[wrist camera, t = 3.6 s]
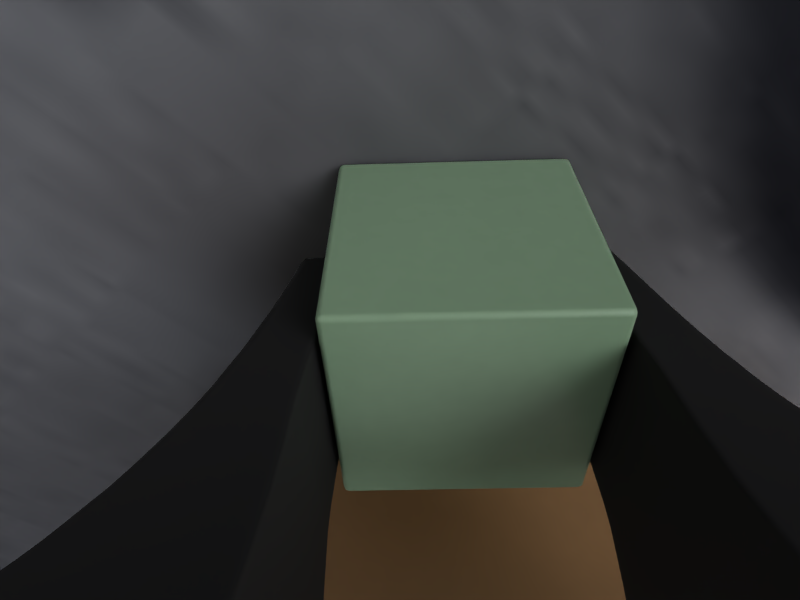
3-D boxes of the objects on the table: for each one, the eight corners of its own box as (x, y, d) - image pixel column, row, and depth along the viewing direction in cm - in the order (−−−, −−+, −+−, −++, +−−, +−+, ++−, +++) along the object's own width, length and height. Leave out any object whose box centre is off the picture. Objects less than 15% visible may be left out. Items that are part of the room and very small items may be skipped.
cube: (569, 156, 10) (641, 311, 7) (539, 323, 13) (583, 489, 10) (338, 163, 10) (313, 318, 7) (357, 328, 13) (343, 493, 10)
